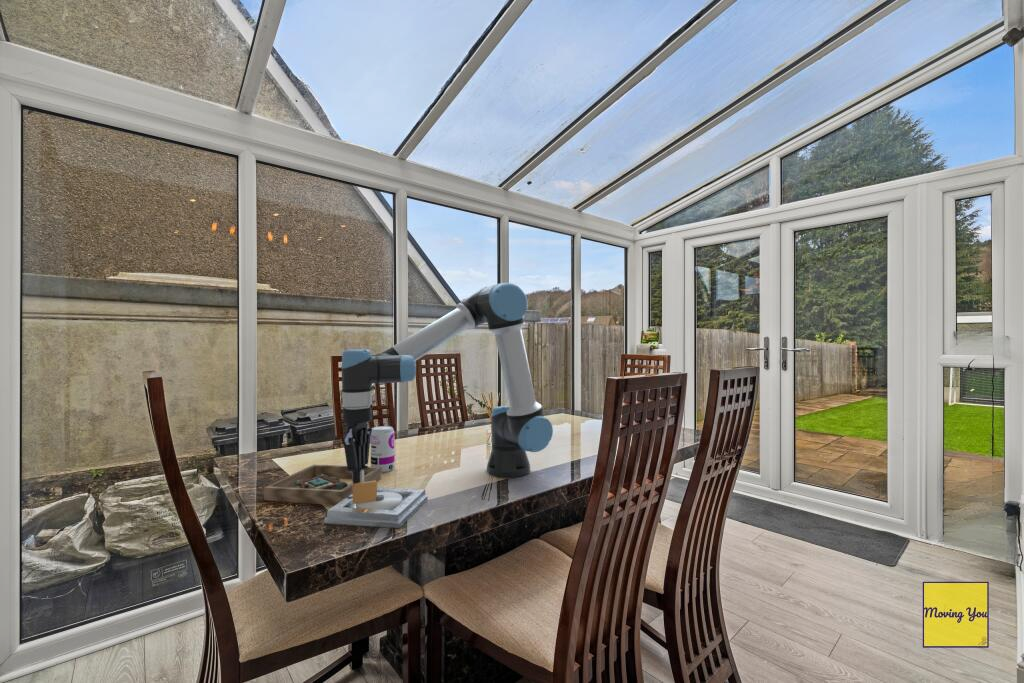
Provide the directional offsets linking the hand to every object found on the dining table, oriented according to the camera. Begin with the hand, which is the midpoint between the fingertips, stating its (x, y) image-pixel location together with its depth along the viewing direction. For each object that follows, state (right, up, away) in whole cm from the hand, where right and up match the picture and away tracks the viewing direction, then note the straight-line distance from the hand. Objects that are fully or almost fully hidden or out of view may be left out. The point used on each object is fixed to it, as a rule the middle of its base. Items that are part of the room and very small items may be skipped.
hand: (358, 493), depth 124 cm
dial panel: (+6, -5, 0) cm, 7 cm away
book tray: (-16, -5, +18) cm, 24 cm away
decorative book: (-19, -5, +16) cm, 25 cm away
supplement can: (-4, -5, +38) cm, 39 cm away
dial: (+5, -3, 0) cm, 6 cm away
